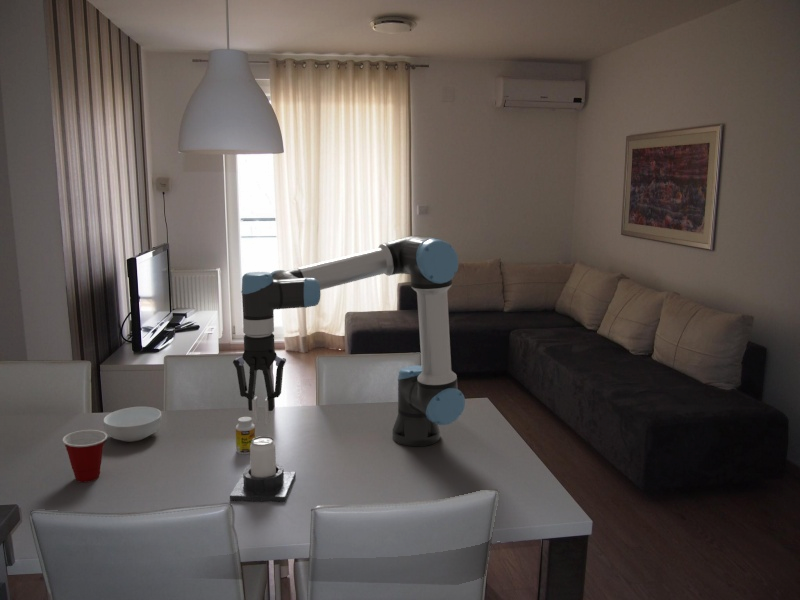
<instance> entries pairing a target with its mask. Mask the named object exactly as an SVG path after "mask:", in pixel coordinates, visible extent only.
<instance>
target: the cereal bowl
mask: <svg viewBox="0 0 800 600" xmlns="http://www.w3.org/2000/svg"><path fill="white" fill-rule="evenodd" d="M162 420H163V419H162V411H161V410H160V409H158V408H156V407H152V406H151V407H150V406H133V407H132V406H131V407H127V408H126V407H125V408H121V409H118V410H115V411H113V412H110V413H108V414H107V415H105V417H103V426H104V432H105V433H106V434H107V436H110V437H111V438H112V439H115V440H117V441H118V440H119V441H123V442H131V443H133V442H139V441H142V440H144V439H146V438H147V437H149V436H151V435H153V434H154V433H155V432H157V430H159V428H160V426H161V424H162Z"/></svg>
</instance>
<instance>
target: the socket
mask: <svg viewBox="0 0 800 600" xmlns="http://www.w3.org/2000/svg"><path fill="white" fill-rule="evenodd" d="M296 476H297V475H296V471H284V468H283V466H282V465H281V464H279V463H276V474H274V475H272V476H269V477H264V478H260V477H253V476H251V465H250V466H247V467H245V469H244V471H243V473H242V474H241V476H240V477H239V480H238V481H237V483H236V484H235V486H234V488H233V489H232V491H231V493H230V495H229V502H251V503H252V502H253V503H256V502H257V503H286V501H287V499H288V497H289V496H288V495H289V493H290V491H291V490H292V486H293V484H294V482H295V479H296Z"/></svg>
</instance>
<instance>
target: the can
mask: <svg viewBox="0 0 800 600" xmlns="http://www.w3.org/2000/svg"><path fill="white" fill-rule="evenodd" d="M251 442H252V443H251V446H250V454H249V455H250V458H249V459H250V462H249V463H250V466H251V476H253V477H260V478H264V477H269V476H272V475H274V474H276V464H277V457H276V455H277V454H276V453H277V451H276V444H275V442H274V438H273V437H272V436H267V435H262V436H257V437H256V436H255V438H254V439H252V441H251Z"/></svg>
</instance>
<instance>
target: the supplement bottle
mask: <svg viewBox="0 0 800 600" xmlns="http://www.w3.org/2000/svg"><path fill="white" fill-rule="evenodd" d="M255 425H256V424H253V417H250V416H242V417H241V416H240V417H239V418H238V419H237V424H236V426H235V446H236V449H235V450H236V452H237V453H238V454H240V455H250V446H251V443H252V442H251V441H252V439H254V438H256V428H255V427H256V426H255Z"/></svg>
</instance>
